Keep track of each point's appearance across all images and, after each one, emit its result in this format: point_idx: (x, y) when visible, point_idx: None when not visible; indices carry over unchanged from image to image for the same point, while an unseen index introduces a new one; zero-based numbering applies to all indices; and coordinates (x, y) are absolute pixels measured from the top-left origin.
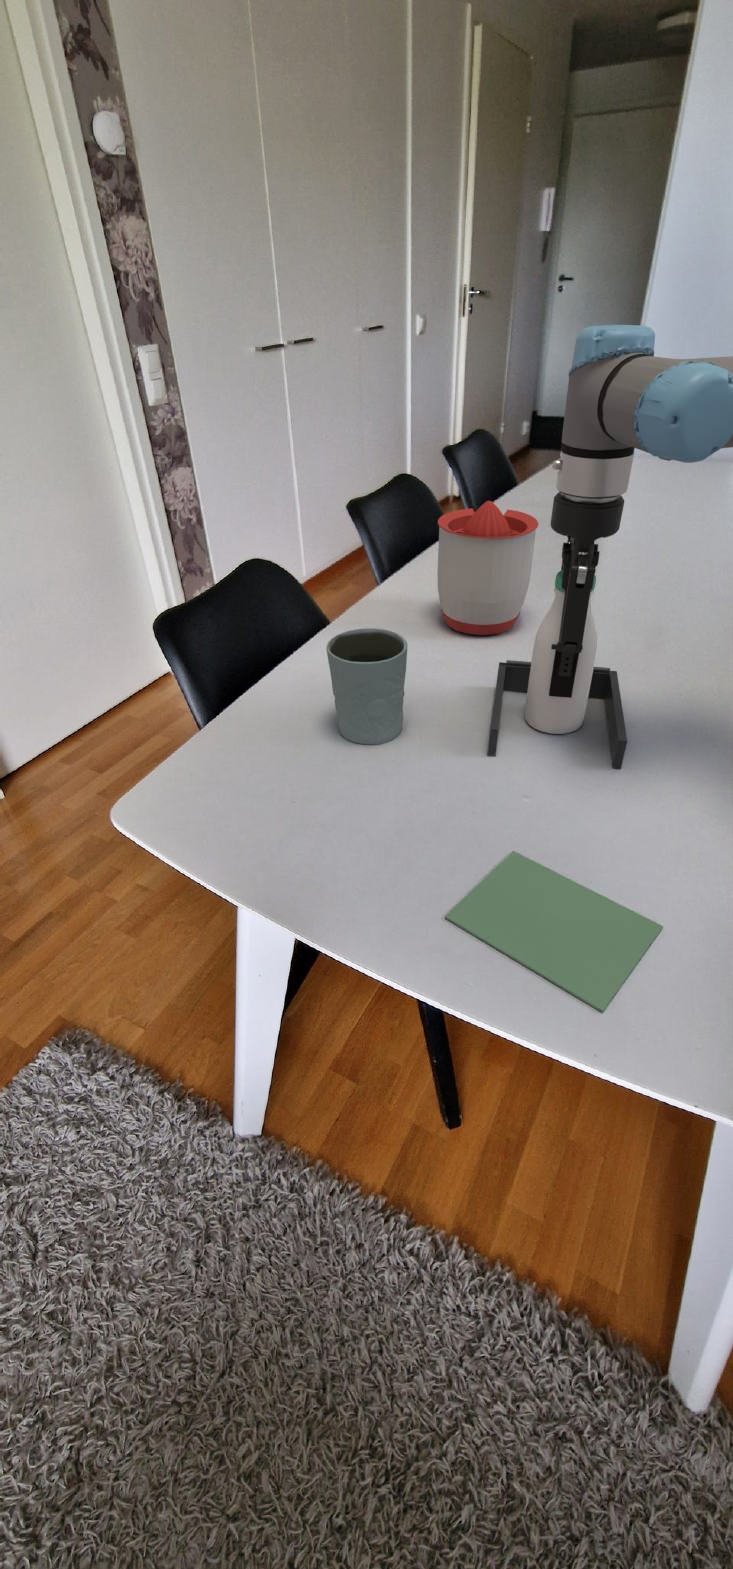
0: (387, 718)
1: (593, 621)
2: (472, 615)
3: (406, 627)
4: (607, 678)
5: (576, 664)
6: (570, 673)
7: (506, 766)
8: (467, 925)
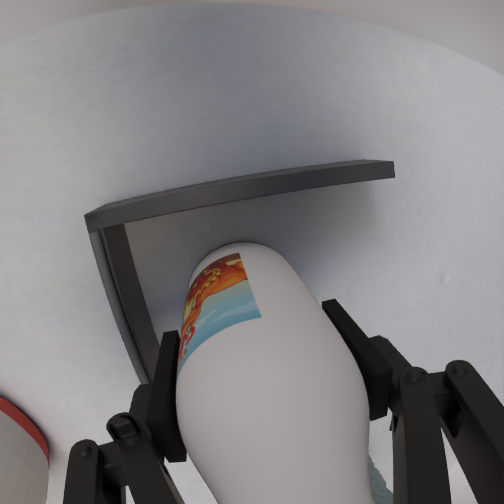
0: (368, 462)
1: (298, 408)
2: (41, 461)
3: None
4: (107, 228)
5: (371, 344)
6: (387, 340)
7: (390, 321)
8: None
